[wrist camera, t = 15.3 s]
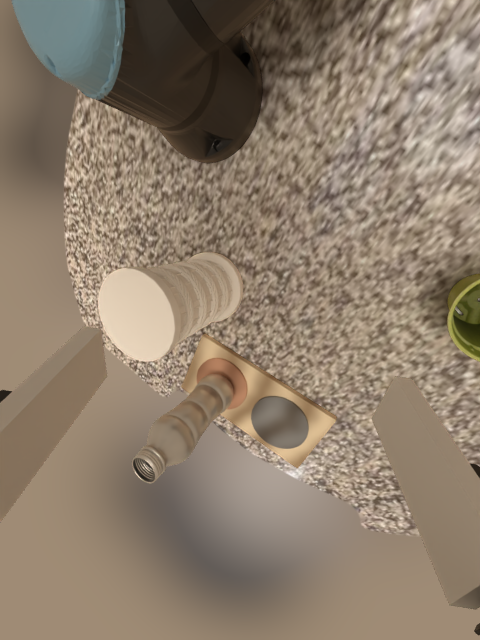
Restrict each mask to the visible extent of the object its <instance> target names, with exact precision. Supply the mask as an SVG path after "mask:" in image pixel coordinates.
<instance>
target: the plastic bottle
mask: <svg viewBox="0 0 480 640" xmlns="http://www.w3.org/2000/svg"><path fill="white" fill-rule="evenodd" d="M233 396H234V392H233V388H232V385H231V383H230V382H229V380H228V379H227V378H225V377H224V376H222V375H219V374H209V375H207V376H205V377H203V378H202V379H201V380H200V381H199V383H198V384H197V385H196V387H195V389H194V390H193V391H192V392H191V393H190V395H189V396H188V397H187V398H186V399H185V400H184V401H183V402H181V403H180V404H179V405H178V406H176V407H175V408H174V409H172V410H171V411H169V412H167V413H166V414H164V415H163V416H161V417H160V418H159V419H157V420H156V421H155V422H154V423H153V425H152V427H151V428H150V431H149V434H148V439H147V445H146V446H144V447H143V448H142V449H141V450H140V452H139V453H138V454H137V455H136V456H135V457H134V458H133V460H132V467H133V470H134V472H135V473H136V475H137V476H138V477H139V478H140V479H141V480H142V481H144V482H146V483H153V482H155V481H156V480H157V478H158V477H159V476H160V475H161V474H162V473H163V472H164V471H165V470H166V466H171V465H175V464H179V463H181V462H183V461H184V460H186V459H187V458H188V457H189V456H190V455H191V453H192V452H193V450H194V448H195V446H196V445H197V443H198V441H199V439H200V437H201V436H202V434H203V433H204V431H205V430H206V428H207V427H208V426H209V425H210V423H211V422H212V421H213V420H214V419H215V418H216V417H217V416H218V415H220V414H221V413H223V412H224V411H225V410H226V409H227V408H228V407H229V406H230V404H231V402H232V400H233Z"/></svg>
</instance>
